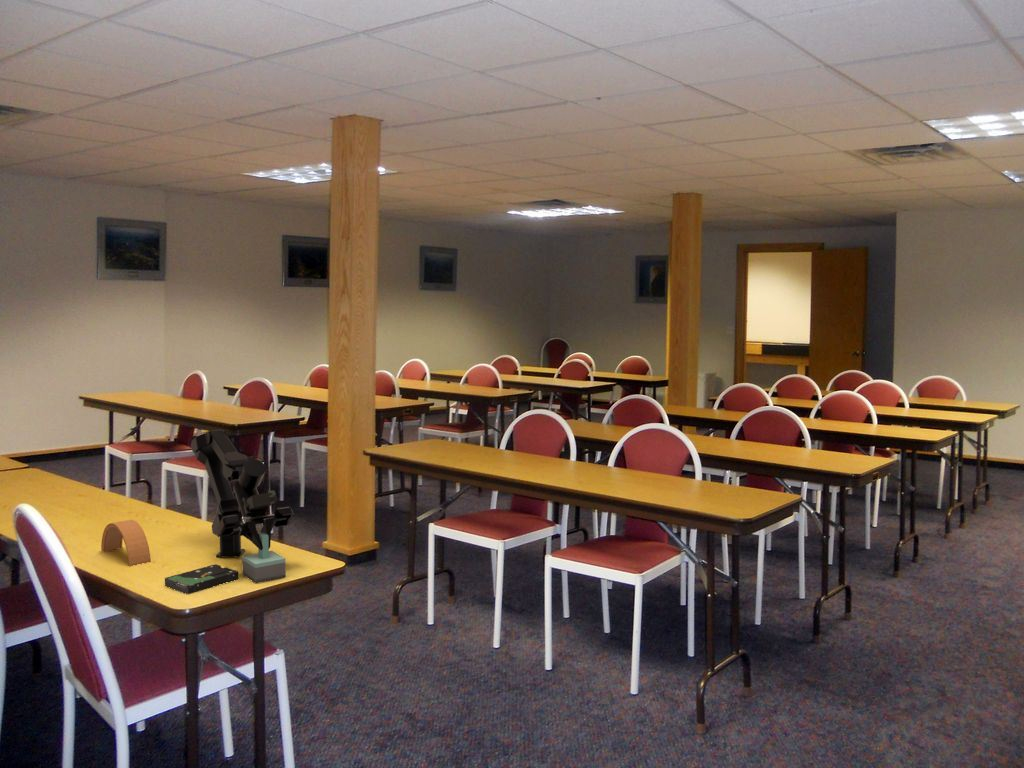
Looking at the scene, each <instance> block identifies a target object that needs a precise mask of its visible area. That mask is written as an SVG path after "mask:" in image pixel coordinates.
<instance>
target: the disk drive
mask: <svg viewBox="0 0 1024 768" xmlns="http://www.w3.org/2000/svg"><path fill="white" fill-rule="evenodd" d="M239 575H240V574H239V571H238V570H235V569H232V568H229V567H226V566H225V567H221V565H219V564H216V563H214V564H210V565H207V566H205V567H204V566H203V567H200V568H196V569H193V570H190V571H185V572H181V573H179V574H178V573H177V574H175V575H174V574H173V575H171V576H166V577H164V587H165V586H167V587H166V588H168V587H170V588H169V589H171V588H172V589H171V590H174V589H175V591H177V590H178V591H177V592H179V591H180V593H182V592H183V594H185V593H186V595H191V594H195V593H199V592H202V591H204V589H205V590H208V589H210V588H214V587H213V586H215V587H218V586H220V585H219V584H222V585H224V584H223V583H225V584H227V583H226V582H228V583H231V581H232V582H235V581H237V580H238V579H239V578H240V577H239ZM234 580H235V581H234ZM217 585H218V586H217ZM207 588H208V589H207Z"/></svg>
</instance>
